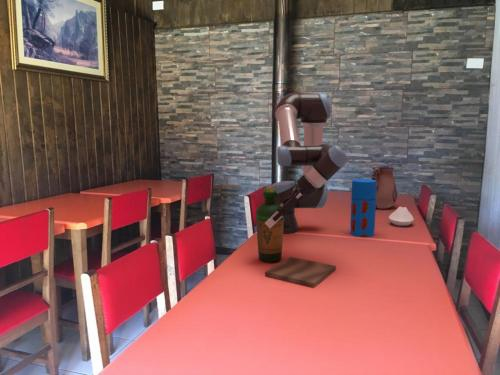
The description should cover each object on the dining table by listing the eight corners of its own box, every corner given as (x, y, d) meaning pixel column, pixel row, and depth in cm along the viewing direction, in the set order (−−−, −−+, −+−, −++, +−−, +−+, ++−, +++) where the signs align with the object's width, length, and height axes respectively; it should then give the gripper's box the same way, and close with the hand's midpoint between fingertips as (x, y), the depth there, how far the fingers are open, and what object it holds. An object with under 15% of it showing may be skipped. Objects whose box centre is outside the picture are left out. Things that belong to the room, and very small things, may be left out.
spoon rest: (413, 229, 192) (414, 214, 191) (387, 226, 196) (388, 212, 195) (413, 218, 213) (414, 205, 212) (390, 216, 218) (391, 203, 217)
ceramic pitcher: (399, 206, 242) (401, 165, 238) (391, 213, 225) (393, 169, 221) (370, 203, 252) (372, 164, 248) (360, 209, 234) (362, 167, 230)
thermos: (375, 237, 177) (378, 182, 173) (351, 236, 179) (353, 182, 175) (372, 230, 188) (374, 178, 183) (349, 230, 190) (351, 178, 185)
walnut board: (265, 275, 134) (265, 271, 133) (290, 260, 148) (290, 256, 148) (314, 287, 124) (314, 283, 124) (335, 269, 139) (335, 265, 138)
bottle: (264, 266, 143) (264, 189, 138) (251, 257, 152) (250, 185, 148) (289, 261, 148) (290, 187, 143) (274, 253, 157) (275, 183, 153)
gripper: (318, 195, 129) (272, 237, 135) (319, 183, 154) (280, 220, 159) (302, 178, 130) (257, 222, 135) (305, 170, 154) (267, 207, 159)
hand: (269, 221), depth 147 cm, fingers open, 13 cm apart
